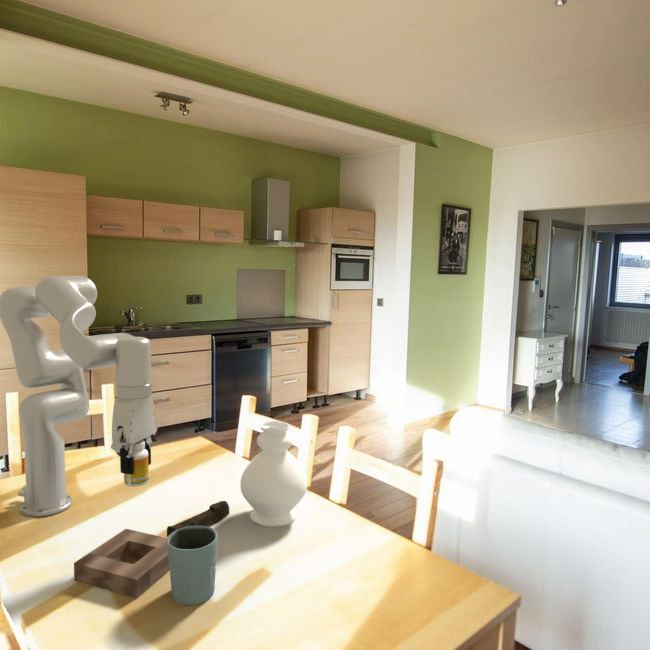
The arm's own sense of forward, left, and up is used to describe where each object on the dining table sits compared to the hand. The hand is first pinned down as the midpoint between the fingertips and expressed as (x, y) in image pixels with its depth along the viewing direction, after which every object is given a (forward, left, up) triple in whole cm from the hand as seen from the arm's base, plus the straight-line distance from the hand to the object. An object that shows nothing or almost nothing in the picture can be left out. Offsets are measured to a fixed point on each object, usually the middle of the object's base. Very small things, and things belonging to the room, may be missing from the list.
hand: (136, 467), depth 124 cm
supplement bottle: (0, 0, -4) cm, 4 cm away
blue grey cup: (+21, -9, -20) cm, 31 cm away
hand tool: (+7, +15, -20) cm, 26 cm away
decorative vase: (+22, +28, -20) cm, 41 cm away
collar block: (+4, -7, -20) cm, 22 cm away
